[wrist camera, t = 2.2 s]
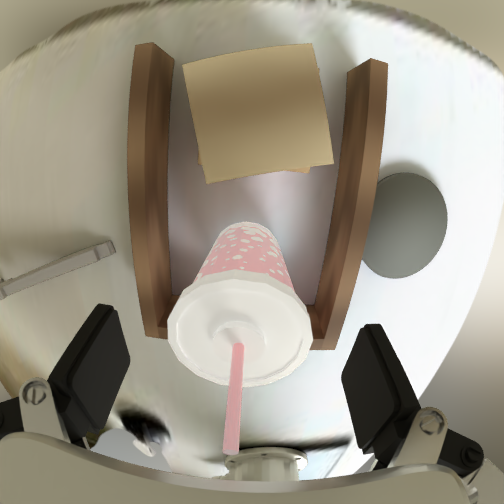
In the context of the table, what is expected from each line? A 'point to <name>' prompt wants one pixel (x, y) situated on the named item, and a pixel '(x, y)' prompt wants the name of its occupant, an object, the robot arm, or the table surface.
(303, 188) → the table surface
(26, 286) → the caliper
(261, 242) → the beverage cup
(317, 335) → the rack
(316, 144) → the offcut upper
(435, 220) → the coaster
